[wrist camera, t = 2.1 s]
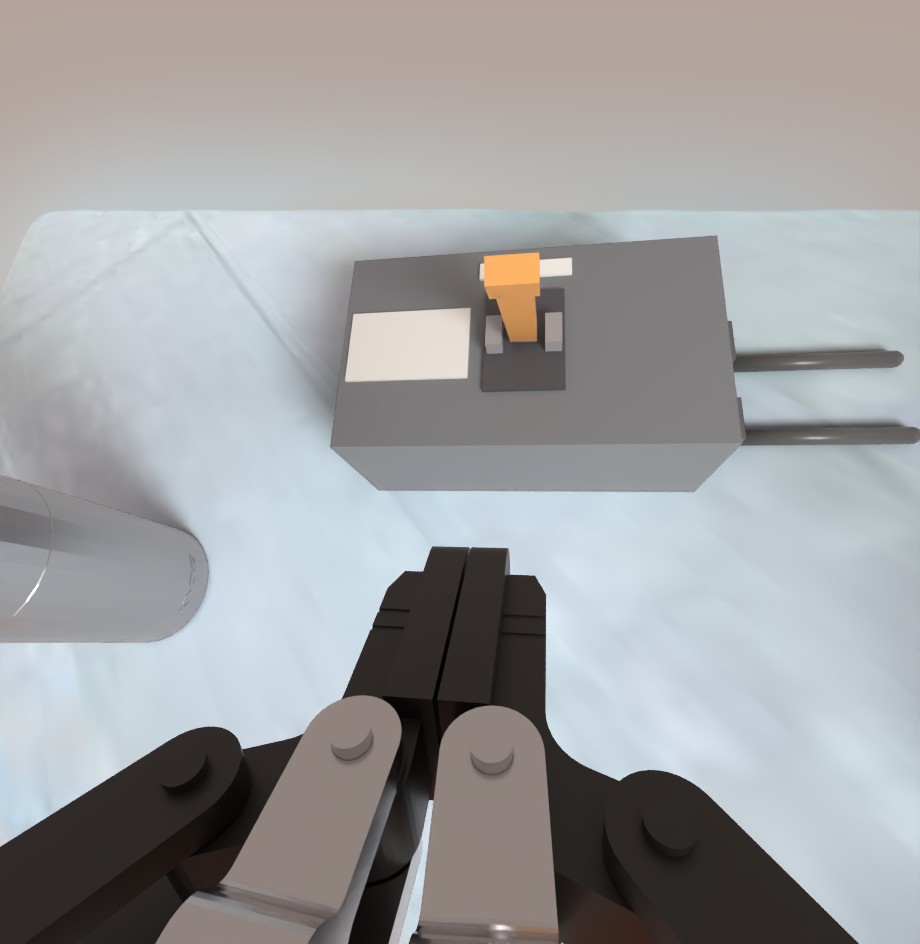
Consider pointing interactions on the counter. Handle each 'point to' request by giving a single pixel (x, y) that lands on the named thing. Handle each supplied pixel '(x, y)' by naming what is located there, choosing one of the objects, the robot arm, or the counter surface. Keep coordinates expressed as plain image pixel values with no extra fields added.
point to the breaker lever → (515, 292)
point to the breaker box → (558, 375)
